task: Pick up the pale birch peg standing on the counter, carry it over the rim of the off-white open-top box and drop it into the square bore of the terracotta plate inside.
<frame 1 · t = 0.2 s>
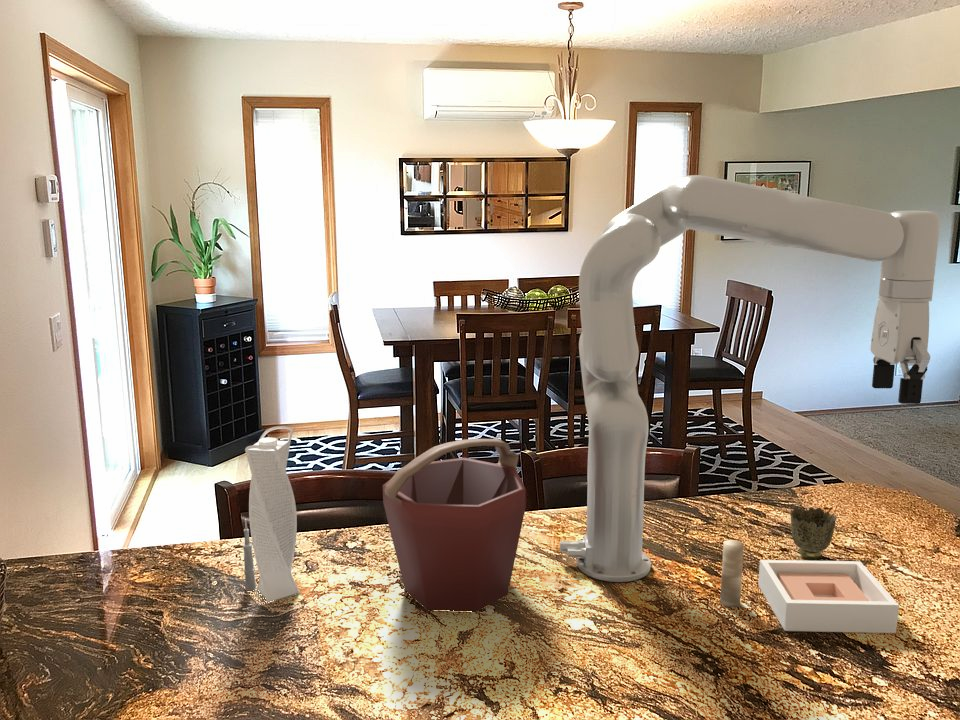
hand: (895, 395, 131), 31 cm above the kitchen counter, tool pointing down, fingers open, 9 cm apart
birch peg: (730, 602, 127), on the kitchen counter
bored plate: (824, 595, 125), in the open-top box, point 1 cm above the kitchen counter
skyscraper: (277, 594, 133), on the kitchen counter
cup: (809, 557, 143), on the kitchen counter
bucket: (460, 590, 133), on the kitchen counter
open-top box: (823, 607, 126), on the kitchen counter
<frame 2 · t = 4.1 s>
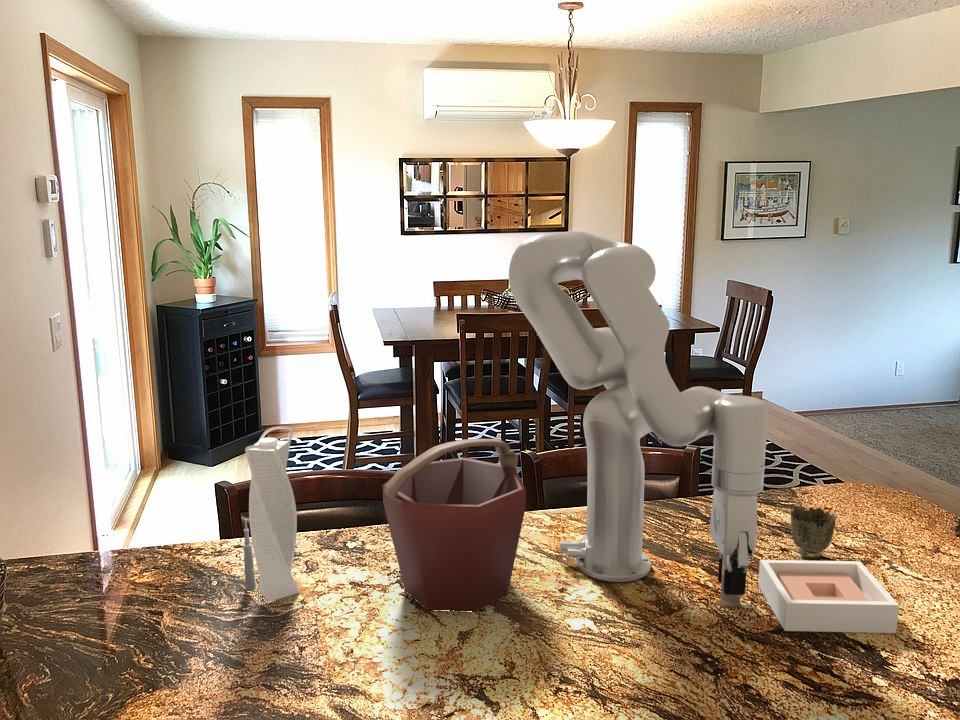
hand: (731, 587, 127), 3 cm above the kitchen counter, tool pointing down, fingers closed on birch peg, 3 cm apart
birch peg: (730, 602, 127), on the kitchen counter, touching gripper
everything else where it was.
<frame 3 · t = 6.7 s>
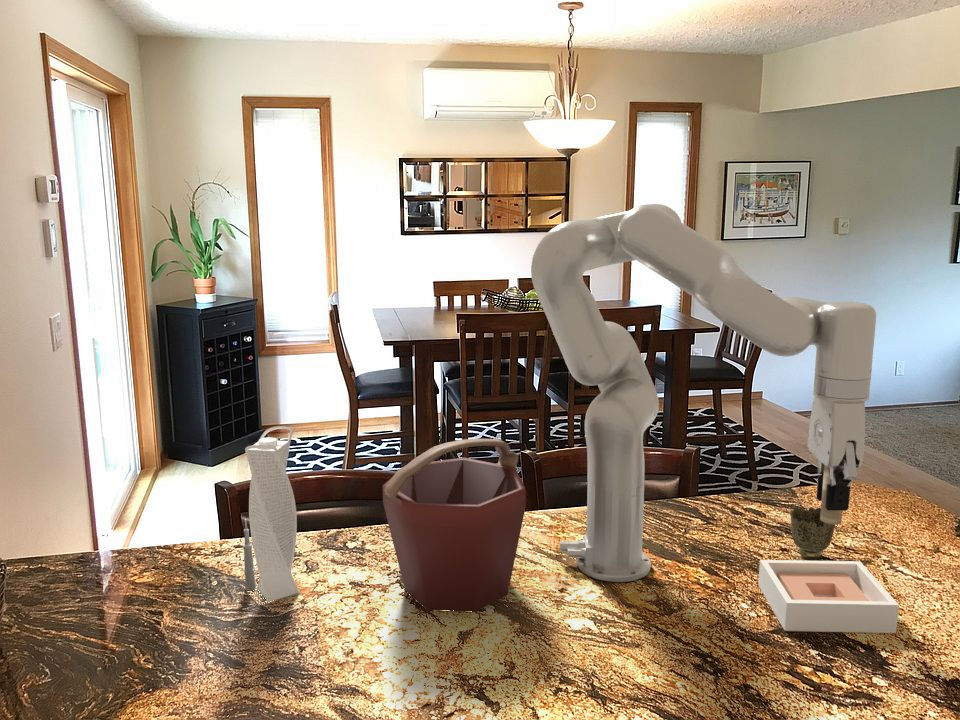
hand: (832, 503, 122), 17 cm above the kitchen counter, tool pointing down, fingers closed on birch peg, 3 cm apart
birch peg: (830, 520, 123), point 15 cm above the kitchen counter, touching gripper
everything else where it was.
when the fingers open (4 cm above the kitchen counter, at t = 9.7 s): birch peg stays where it is, resting on open-top box.
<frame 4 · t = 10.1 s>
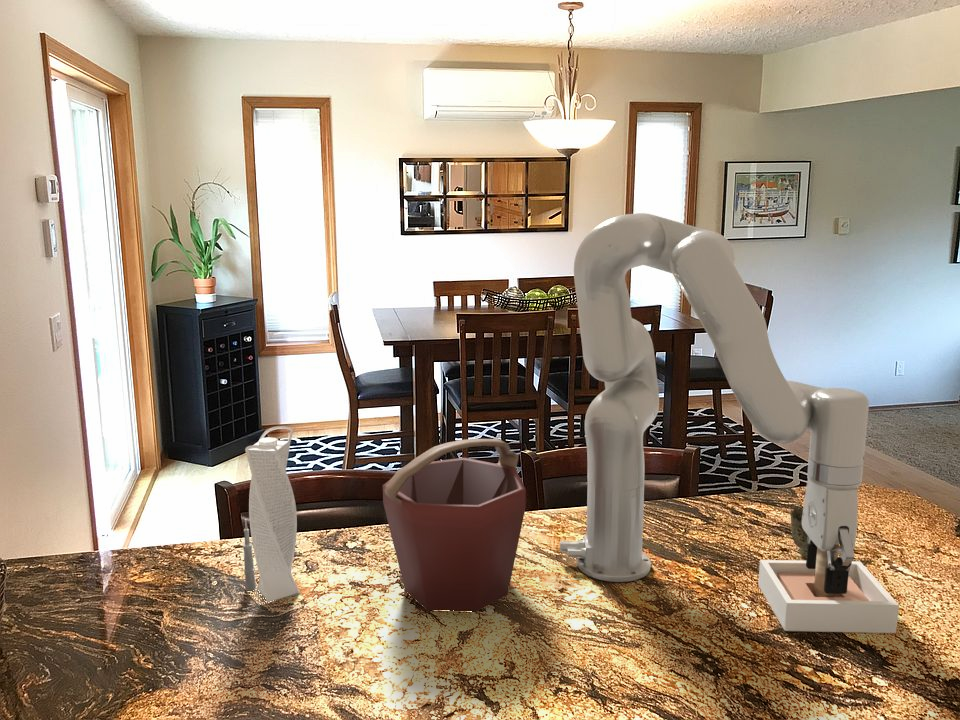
hand: (825, 579, 125), 5 cm above the kitchen counter, tool pointing down, fingers open, 7 cm apart
birch peg: (823, 601, 125), point 1 cm above the kitchen counter, touching open-top box
everything else where it was.
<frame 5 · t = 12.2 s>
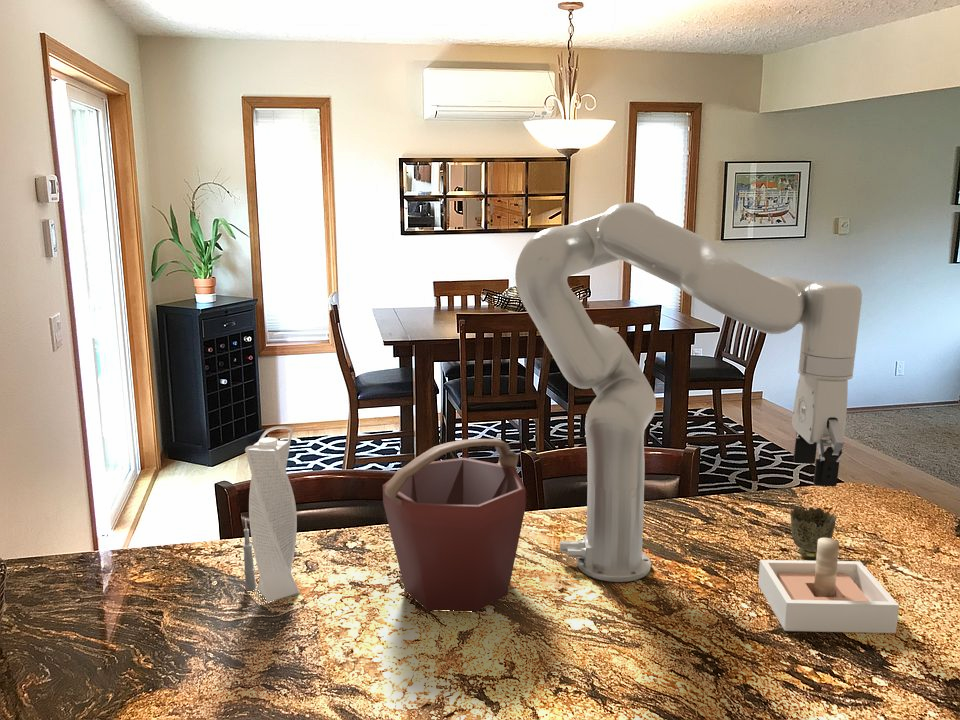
hand: (814, 473, 124), 21 cm above the kitchen counter, tool pointing down, fingers open, 9 cm apart
nothing on the kitchen counter moved.
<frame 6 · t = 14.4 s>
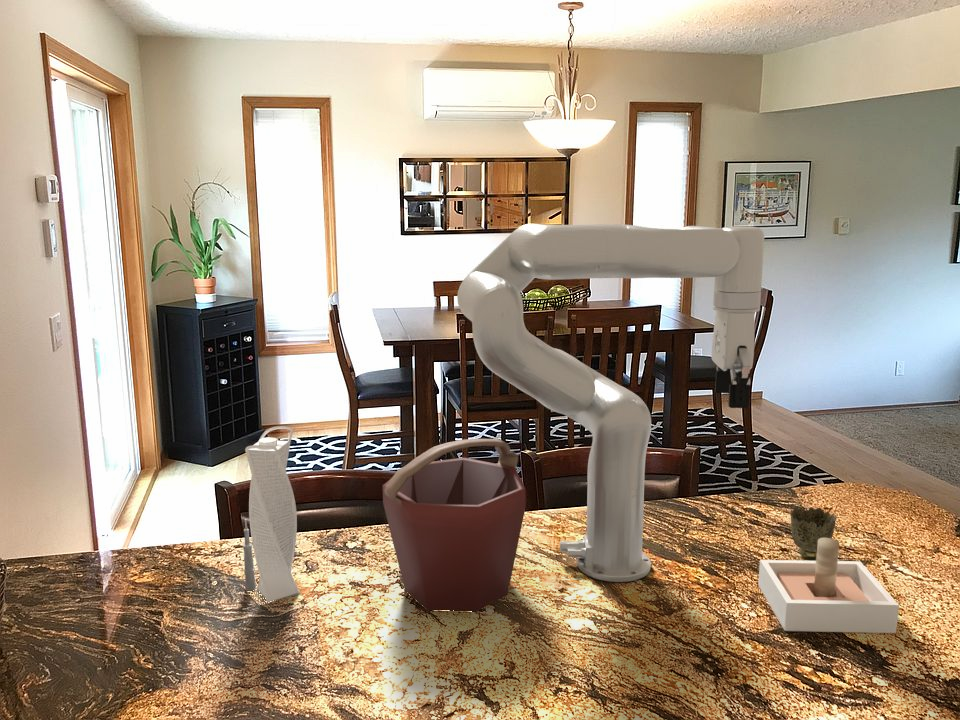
hand: (731, 399, 139), 28 cm above the kitchen counter, tool pointing down, fingers open, 9 cm apart
nothing on the kitchen counter moved.
at the end: birch peg 0.1 cm off-centre on the bored plate, point 1.0 cm above the bored plate's base; birch peg tilted 0°; the gripper is holding nothing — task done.
